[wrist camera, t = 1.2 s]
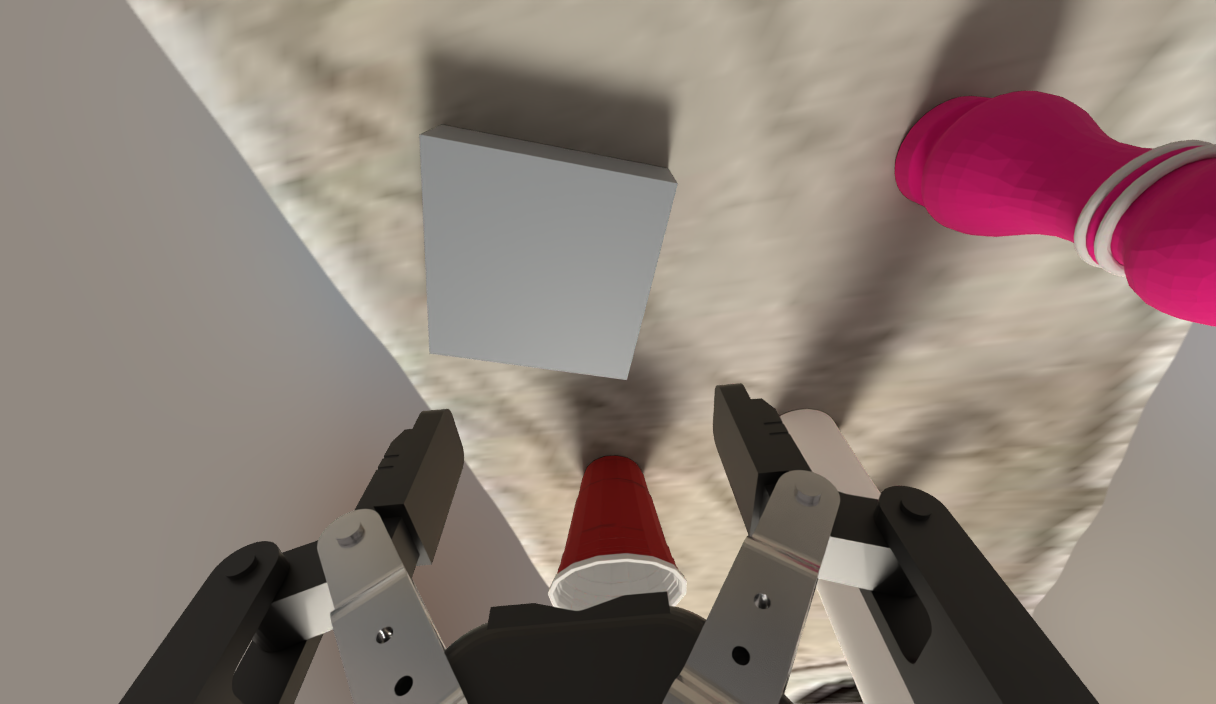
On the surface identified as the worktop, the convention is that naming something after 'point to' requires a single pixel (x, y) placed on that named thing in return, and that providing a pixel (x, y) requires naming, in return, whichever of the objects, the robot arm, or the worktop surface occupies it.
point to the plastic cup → (614, 541)
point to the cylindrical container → (843, 602)
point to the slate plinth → (538, 251)
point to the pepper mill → (1072, 191)
